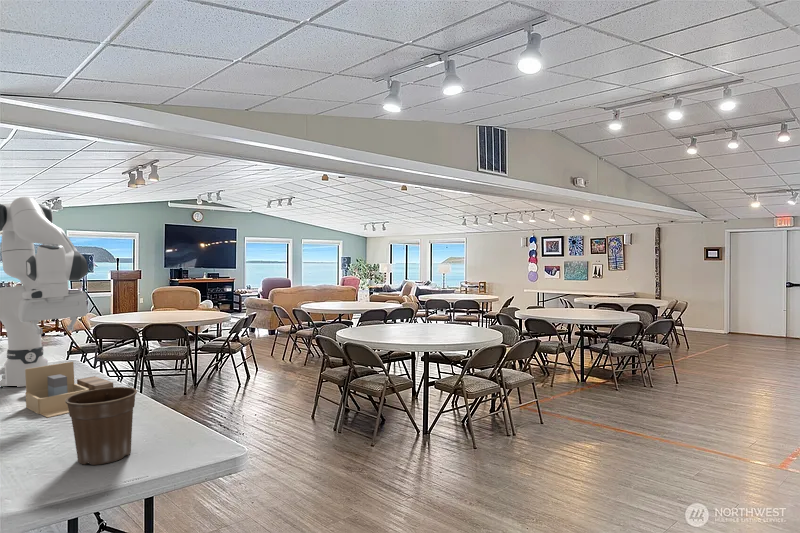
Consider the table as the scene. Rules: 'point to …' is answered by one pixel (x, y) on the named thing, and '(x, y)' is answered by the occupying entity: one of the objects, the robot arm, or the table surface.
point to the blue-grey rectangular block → (57, 385)
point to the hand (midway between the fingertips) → (55, 332)
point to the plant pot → (102, 423)
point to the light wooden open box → (39, 389)
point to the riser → (94, 383)
